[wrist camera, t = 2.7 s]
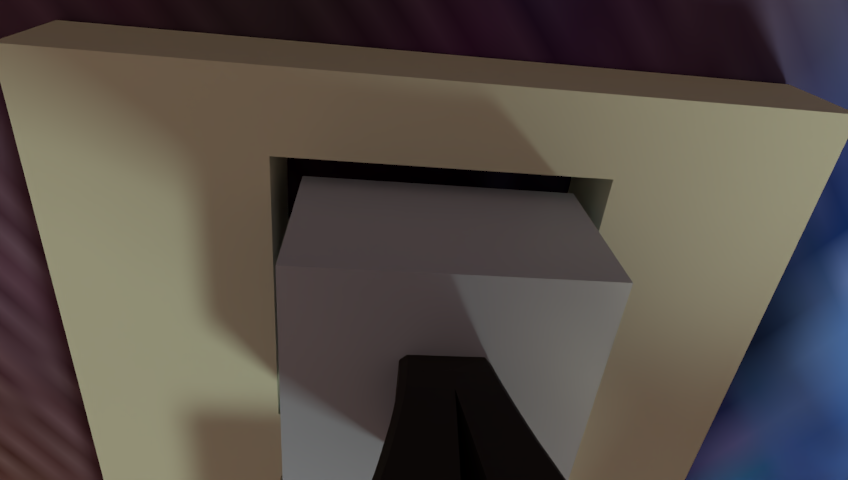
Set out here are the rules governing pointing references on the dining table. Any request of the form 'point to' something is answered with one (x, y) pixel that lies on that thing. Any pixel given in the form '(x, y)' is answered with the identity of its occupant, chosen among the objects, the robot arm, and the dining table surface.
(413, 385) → the robot arm
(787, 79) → the dining table surface
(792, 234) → the panel
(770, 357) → the dining table surface
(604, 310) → the key slate
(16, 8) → the dining table surface
